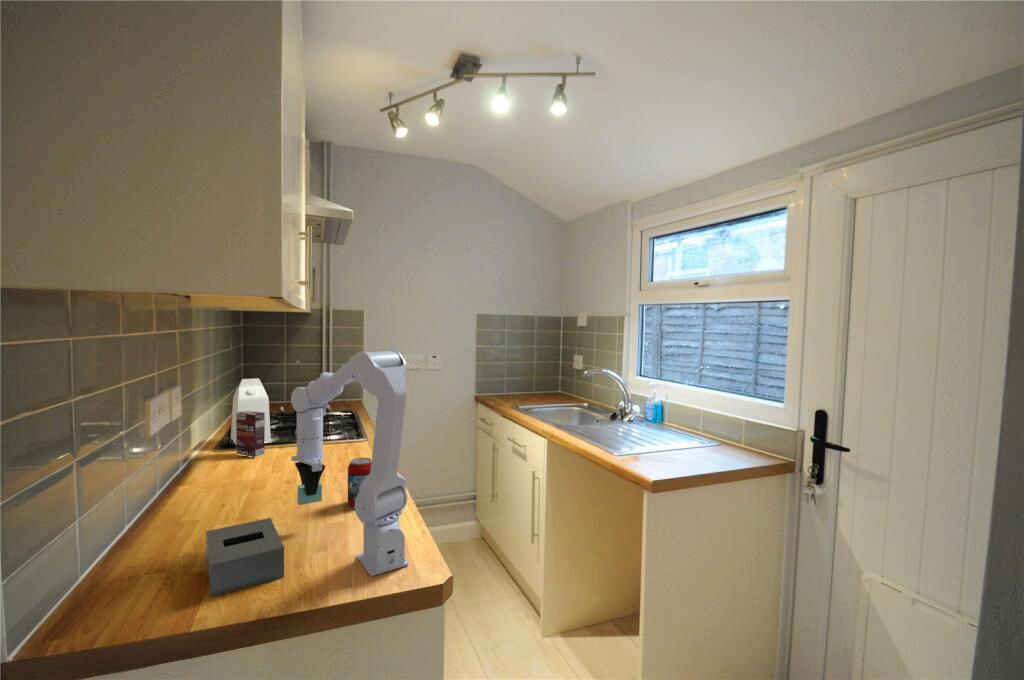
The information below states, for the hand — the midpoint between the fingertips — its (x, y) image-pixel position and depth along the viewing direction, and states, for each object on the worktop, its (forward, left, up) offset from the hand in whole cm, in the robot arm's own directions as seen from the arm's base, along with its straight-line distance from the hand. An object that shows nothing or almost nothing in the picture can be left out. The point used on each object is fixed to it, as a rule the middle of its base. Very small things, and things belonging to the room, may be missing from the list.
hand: (309, 493), depth 111 cm
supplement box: (+74, +4, -9) cm, 75 cm away
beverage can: (+9, -15, -9) cm, 20 cm away
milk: (+91, +2, -9) cm, 92 cm away
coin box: (-11, +15, -9) cm, 20 cm away
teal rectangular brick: (0, 0, -2) cm, 2 cm away
